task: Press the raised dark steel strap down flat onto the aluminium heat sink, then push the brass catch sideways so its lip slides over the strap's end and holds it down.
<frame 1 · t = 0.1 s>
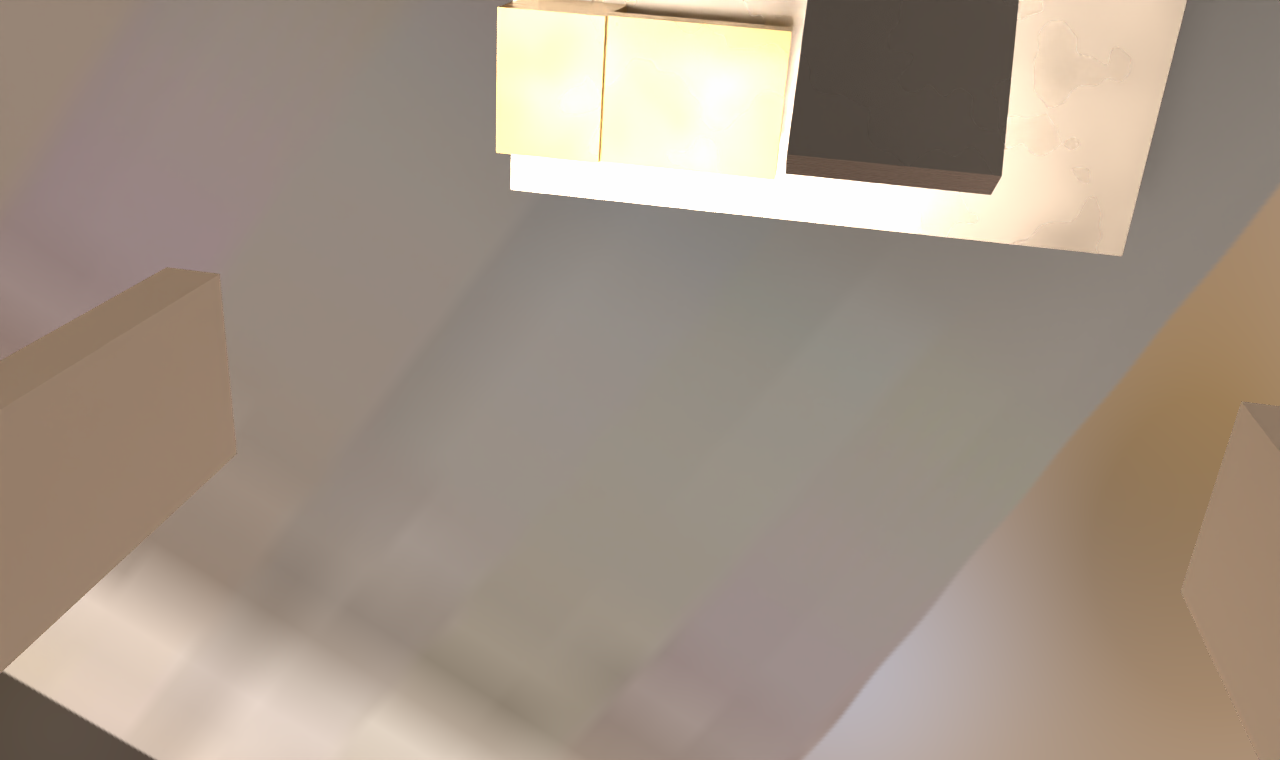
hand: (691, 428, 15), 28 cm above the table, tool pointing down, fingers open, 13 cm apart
catch: (646, 85, 32), point 8 cm above the table, slide at 0.0 cm
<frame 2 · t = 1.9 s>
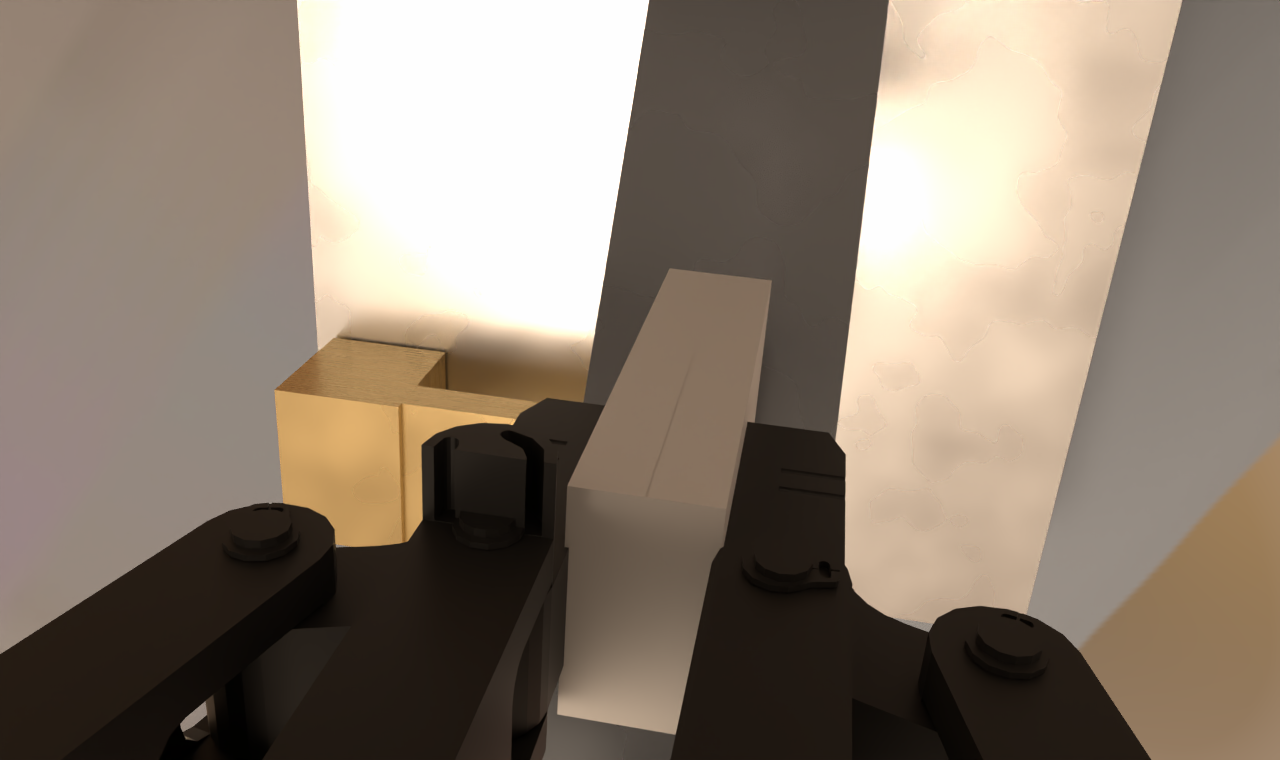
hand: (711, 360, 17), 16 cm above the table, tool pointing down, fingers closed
strap: (746, 160, 19), point 13 cm above the table, hinge at 35.0°, touching gripper
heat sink: (724, 128, 32), on the table
catch: (463, 456, 28), point 8 cm above the table, slide at 0.0 cm
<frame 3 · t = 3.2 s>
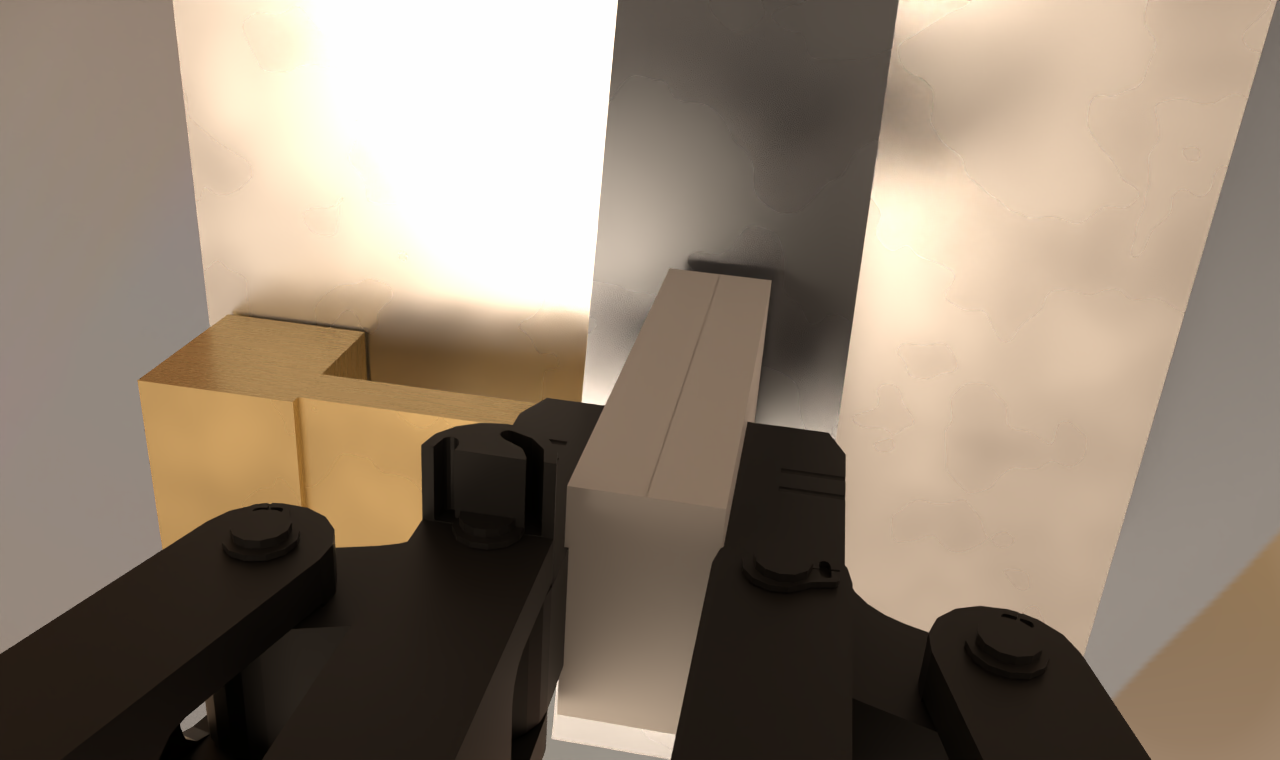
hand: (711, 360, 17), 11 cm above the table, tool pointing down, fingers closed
strap: (743, 123, 17), point 10 cm above the table, hinge at 12.6°, touching gripper
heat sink: (712, 57, 26), on the table
catch: (384, 462, 22), point 8 cm above the table, slide at 0.0 cm
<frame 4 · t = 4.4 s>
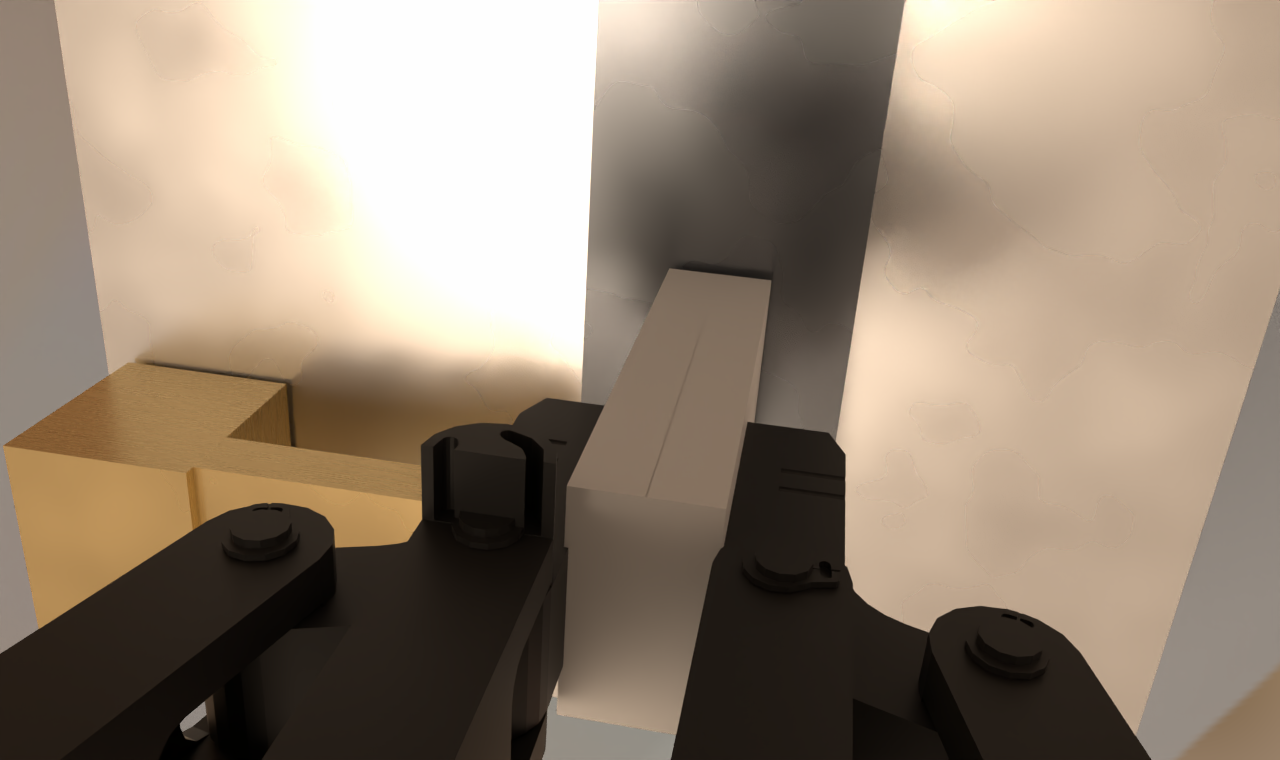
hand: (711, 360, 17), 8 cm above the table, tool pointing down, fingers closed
strap: (738, 123, 16), point 7 cm above the table, hinge at -1.4°, touching gripper
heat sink: (695, 68, 23), on the table
catch: (305, 538, 19), point 8 cm above the table, slide at 0.0 cm
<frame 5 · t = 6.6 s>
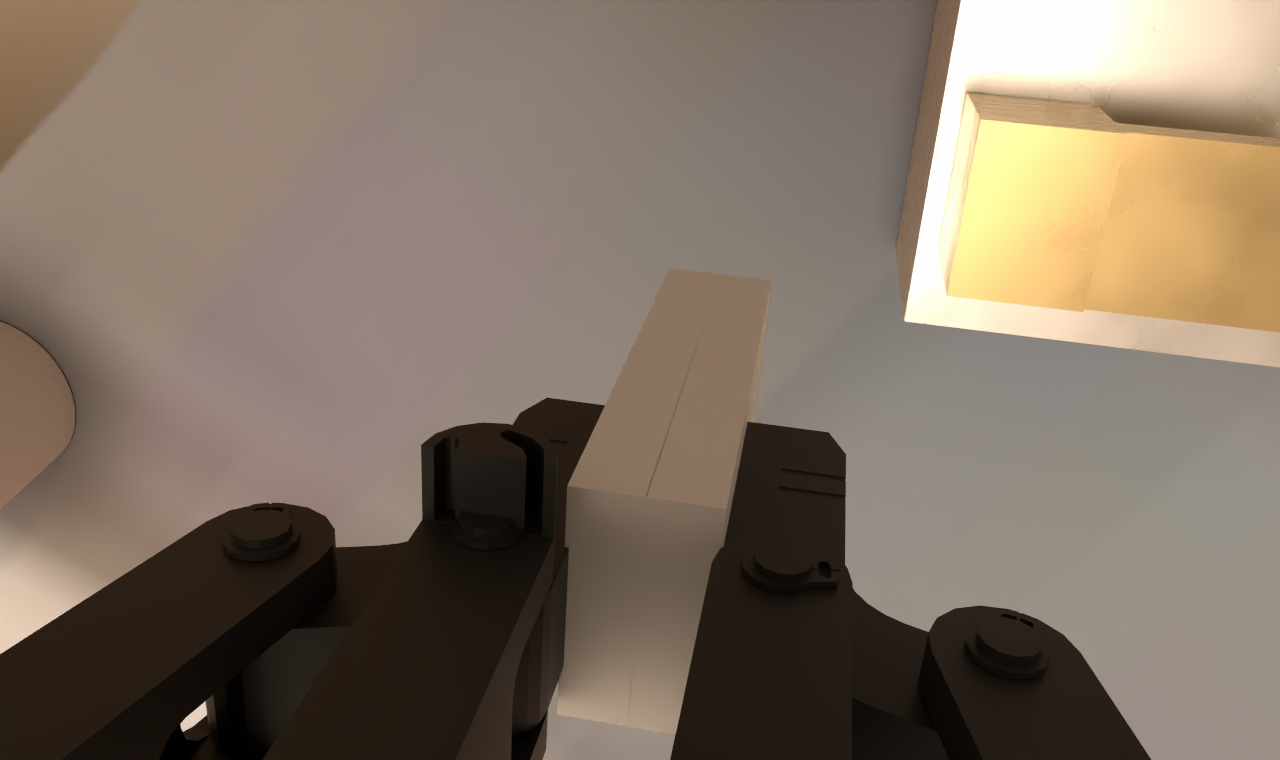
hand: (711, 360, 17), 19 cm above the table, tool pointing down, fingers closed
coffee cup: (2, 391, 44), on the table
catch: (1135, 210, 26), point 8 cm above the table, slide at 0.0 cm
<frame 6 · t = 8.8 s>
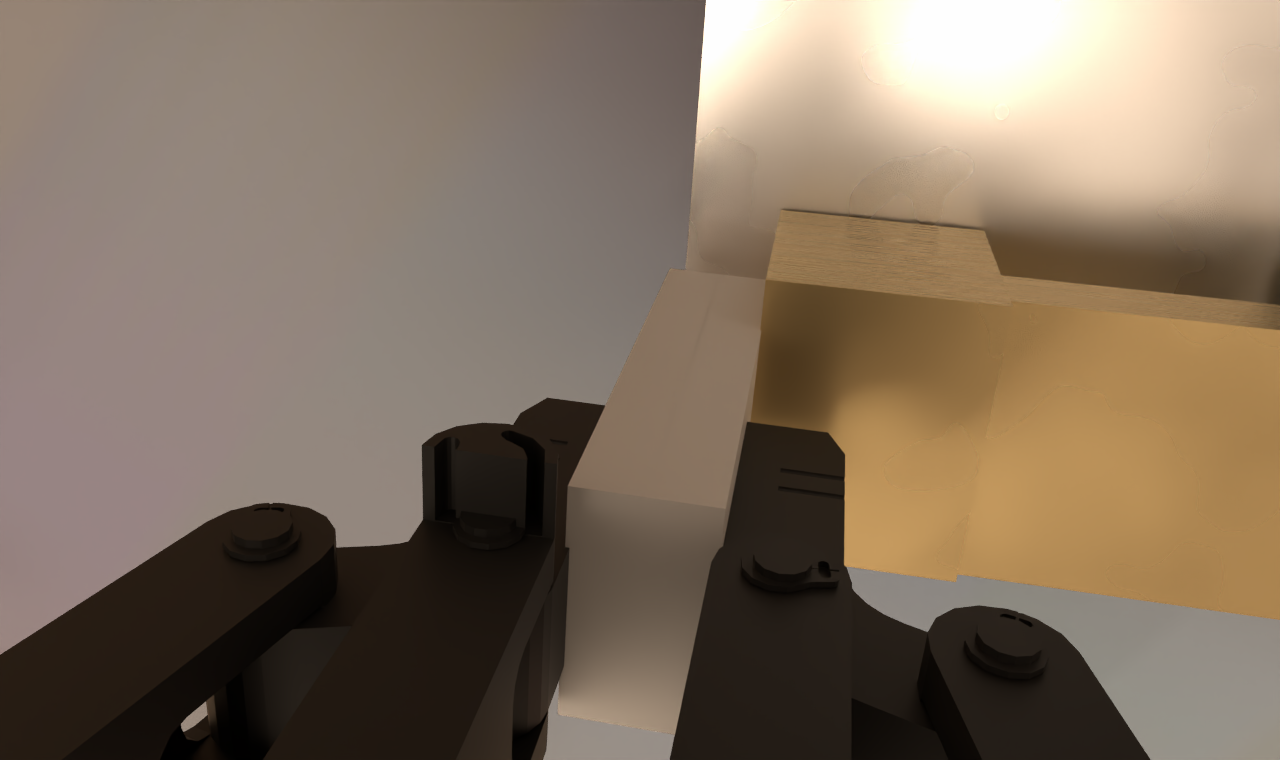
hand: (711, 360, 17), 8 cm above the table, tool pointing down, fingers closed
catch: (1043, 407, 16), point 8 cm above the table, slide at 0.9 cm, touching gripper
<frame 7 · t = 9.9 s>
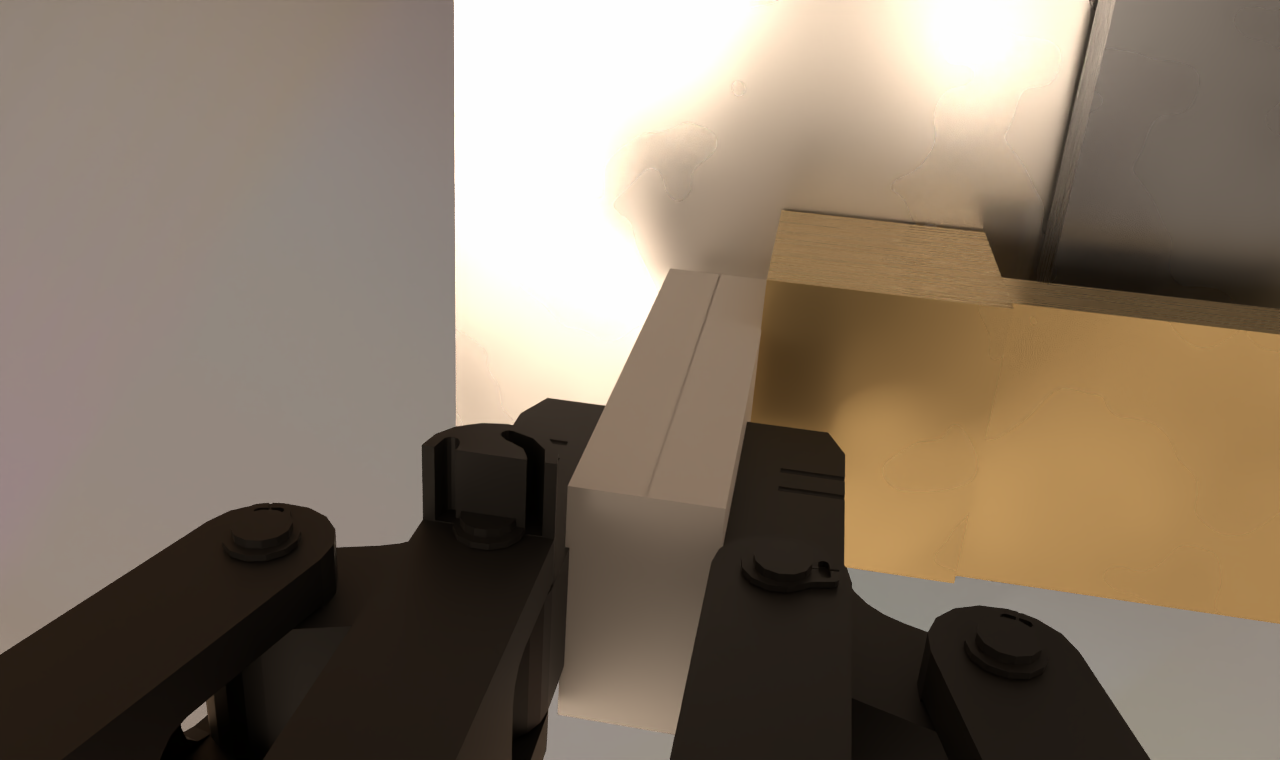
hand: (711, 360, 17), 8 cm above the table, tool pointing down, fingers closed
catch: (1042, 409, 16), point 8 cm above the table, slide at 4.7 cm, touching gripper
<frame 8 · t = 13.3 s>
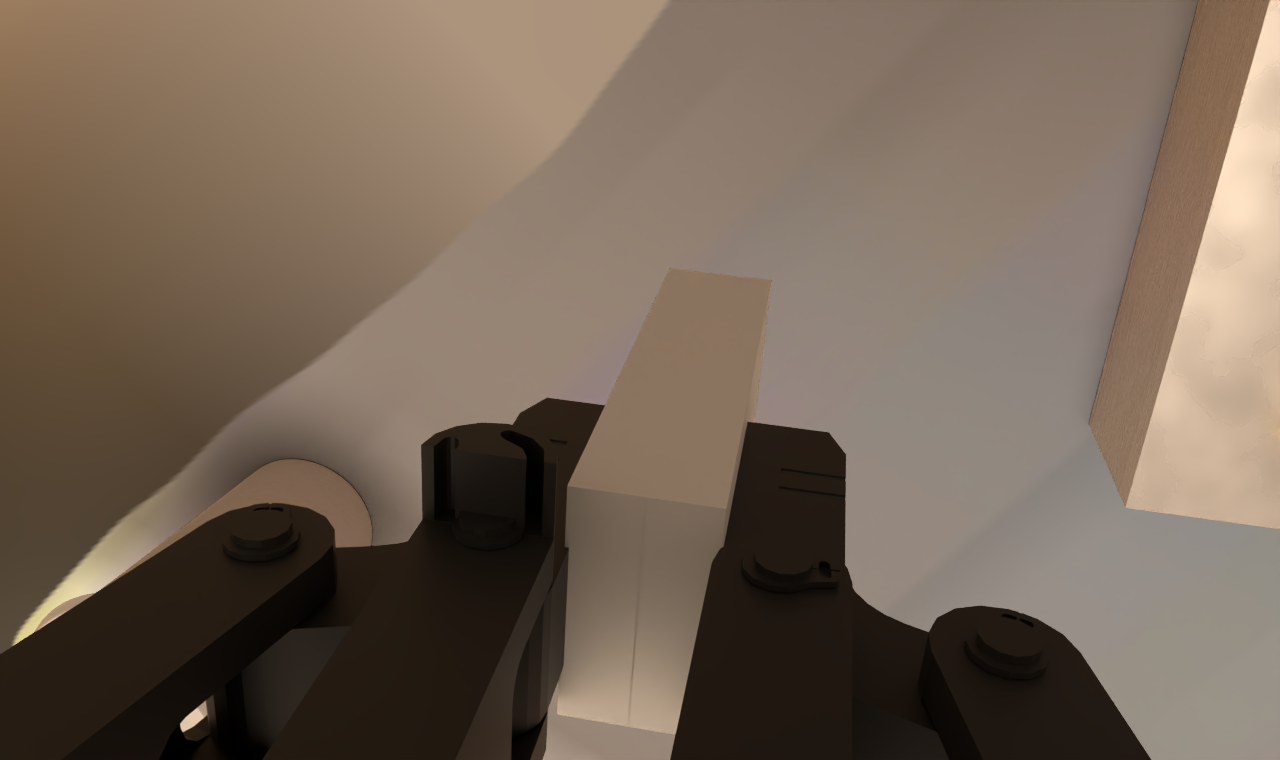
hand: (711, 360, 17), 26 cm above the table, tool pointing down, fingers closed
coffee cup: (308, 518, 52), on the table
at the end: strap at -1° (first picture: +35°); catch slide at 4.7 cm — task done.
